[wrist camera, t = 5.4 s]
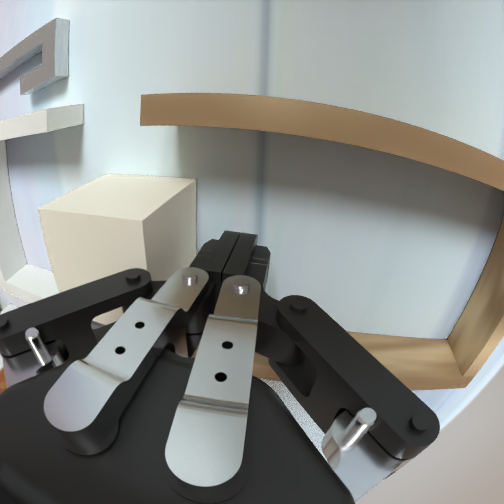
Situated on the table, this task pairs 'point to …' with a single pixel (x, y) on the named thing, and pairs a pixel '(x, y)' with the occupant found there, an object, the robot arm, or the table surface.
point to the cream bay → (3, 216)
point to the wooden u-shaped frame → (390, 141)
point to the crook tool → (53, 56)
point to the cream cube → (120, 230)
